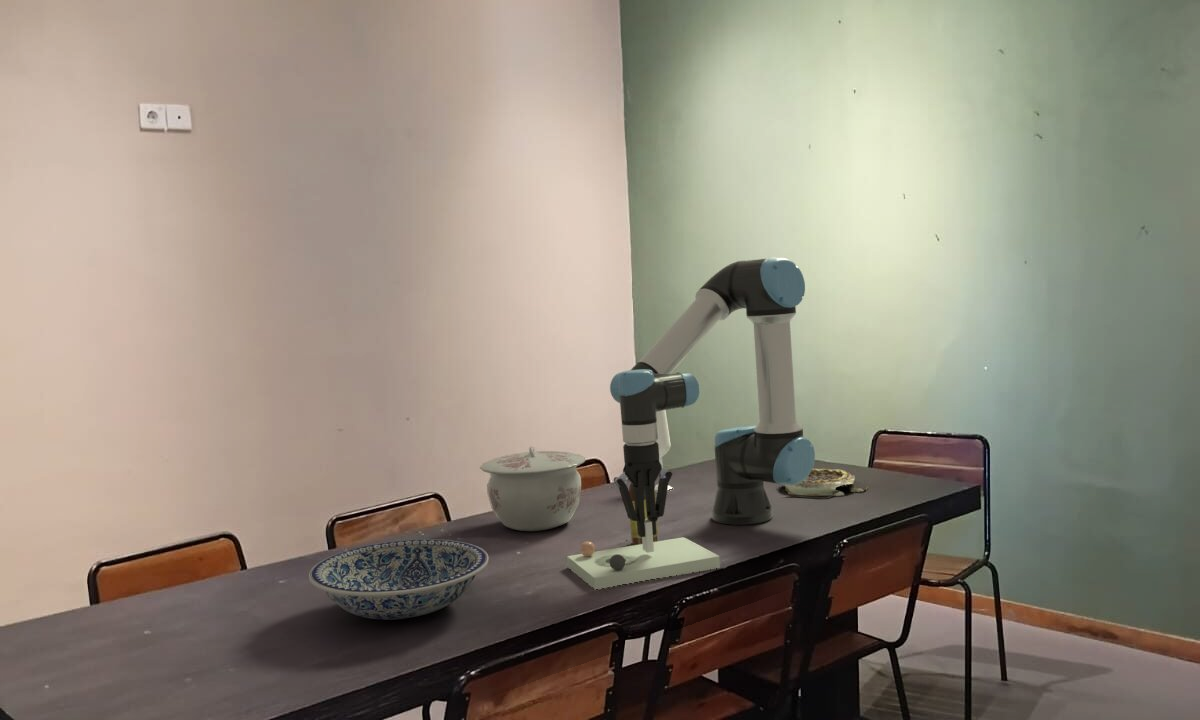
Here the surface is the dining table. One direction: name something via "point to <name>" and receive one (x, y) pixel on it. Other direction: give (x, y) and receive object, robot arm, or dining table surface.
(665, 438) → the champagne flute
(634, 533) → the sauce bottle
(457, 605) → the dining table surface
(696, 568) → the board
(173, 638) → the dining table surface
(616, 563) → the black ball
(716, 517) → the robot arm
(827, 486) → the pie
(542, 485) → the chamber pot
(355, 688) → the dining table surface
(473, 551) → the ceramic bowl
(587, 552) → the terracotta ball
